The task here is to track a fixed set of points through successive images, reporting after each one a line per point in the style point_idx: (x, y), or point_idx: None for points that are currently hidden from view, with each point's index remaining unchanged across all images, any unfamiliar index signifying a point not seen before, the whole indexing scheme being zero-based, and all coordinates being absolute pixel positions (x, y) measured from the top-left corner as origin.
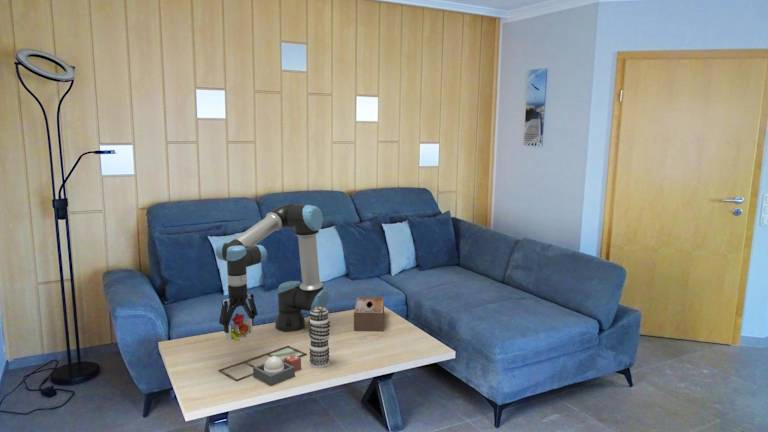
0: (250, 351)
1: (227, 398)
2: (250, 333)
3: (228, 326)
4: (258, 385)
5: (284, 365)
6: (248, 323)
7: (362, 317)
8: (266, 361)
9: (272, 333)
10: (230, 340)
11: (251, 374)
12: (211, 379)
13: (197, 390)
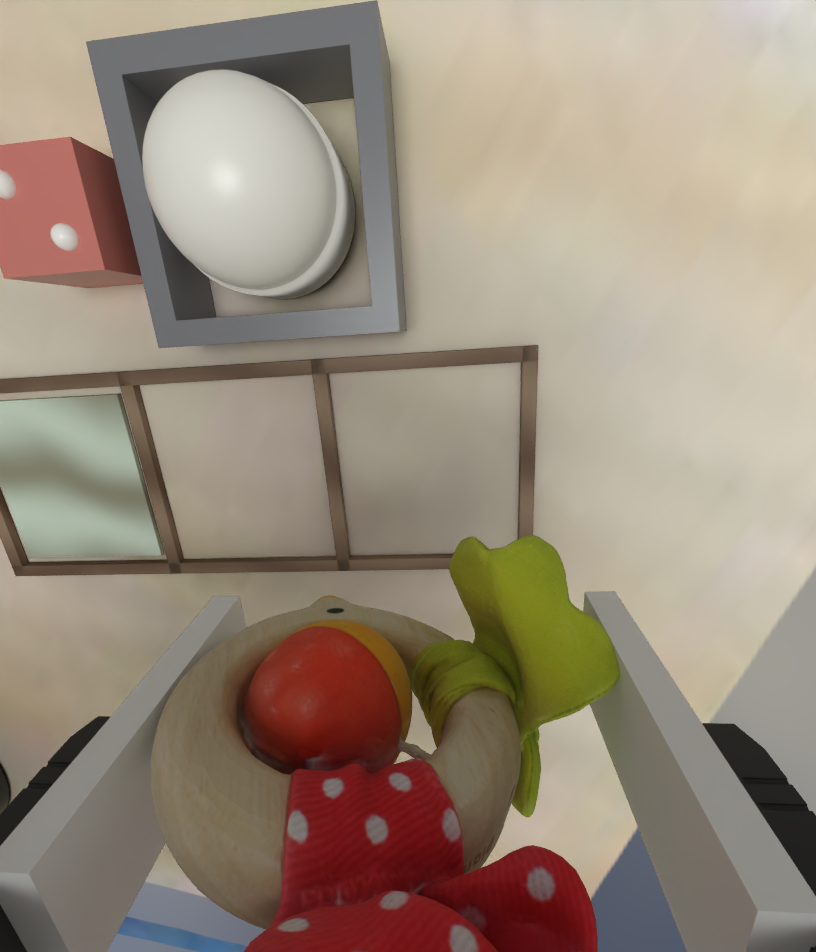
0: None
1: (767, 109)
2: (238, 609)
3: (784, 886)
4: (456, 155)
5: None
6: (167, 761)
7: None
8: (296, 201)
9: (48, 760)
10: (601, 592)
11: (407, 355)
12: (634, 491)
13: (806, 408)
